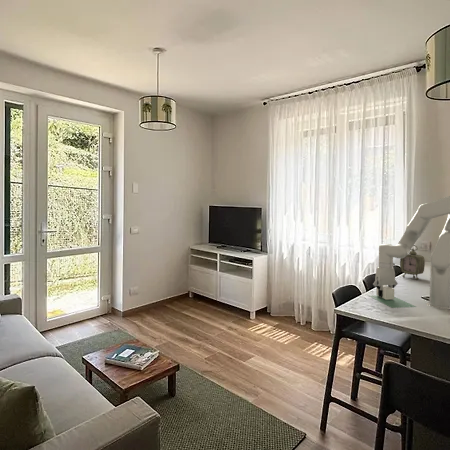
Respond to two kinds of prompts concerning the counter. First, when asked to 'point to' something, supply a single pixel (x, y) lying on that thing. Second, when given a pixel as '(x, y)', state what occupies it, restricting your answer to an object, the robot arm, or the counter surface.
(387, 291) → the block
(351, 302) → the counter surface
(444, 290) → the robot arm
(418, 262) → the tabletop clock
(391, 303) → the header board
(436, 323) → the counter surface
